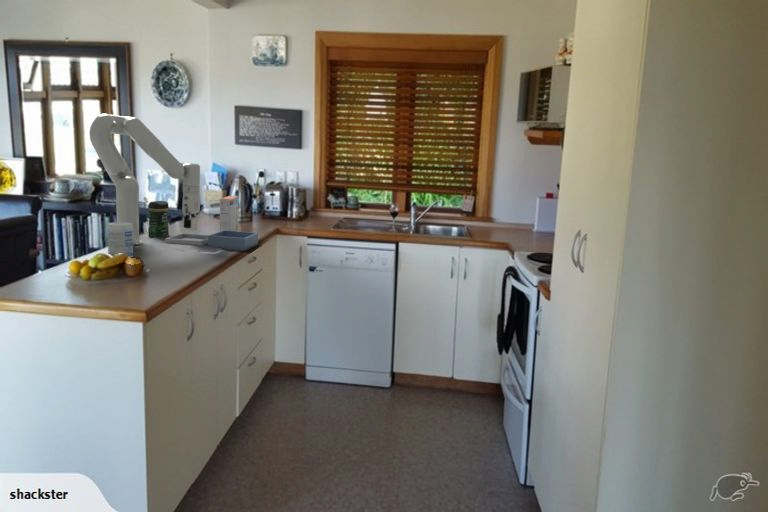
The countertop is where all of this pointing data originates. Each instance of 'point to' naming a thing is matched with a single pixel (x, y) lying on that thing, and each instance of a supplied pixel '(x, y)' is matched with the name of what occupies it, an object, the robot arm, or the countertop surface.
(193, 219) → the stone block
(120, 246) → the supplement tub
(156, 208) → the coffee jar
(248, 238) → the bin
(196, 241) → the tray
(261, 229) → the countertop surface
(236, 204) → the cracker box
